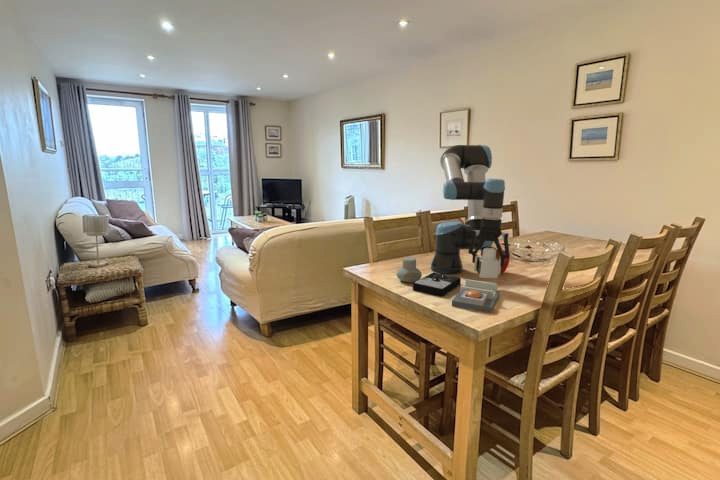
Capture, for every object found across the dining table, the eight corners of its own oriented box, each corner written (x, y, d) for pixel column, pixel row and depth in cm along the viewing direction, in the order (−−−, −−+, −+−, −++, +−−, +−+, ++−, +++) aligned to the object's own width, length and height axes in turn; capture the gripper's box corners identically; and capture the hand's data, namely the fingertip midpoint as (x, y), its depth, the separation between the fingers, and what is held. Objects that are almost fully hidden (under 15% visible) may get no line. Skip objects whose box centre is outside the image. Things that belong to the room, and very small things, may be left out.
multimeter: (460, 285, 161) (461, 274, 160) (442, 298, 146) (442, 286, 145) (432, 279, 169) (433, 269, 168) (412, 291, 154) (412, 279, 153)
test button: (465, 298, 136) (465, 293, 136) (468, 294, 140) (468, 289, 140) (479, 301, 134) (480, 295, 133) (482, 296, 138) (482, 291, 138)
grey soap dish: (451, 305, 137) (452, 292, 136) (463, 290, 154) (464, 278, 153) (491, 312, 131) (492, 299, 130) (499, 296, 148) (500, 284, 147)
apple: (486, 273, 177) (488, 249, 174) (488, 269, 185) (490, 245, 182) (507, 276, 173) (510, 251, 171) (509, 271, 181) (511, 247, 179)
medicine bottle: (476, 272, 159) (478, 244, 157) (494, 273, 158) (496, 245, 156) (479, 277, 152) (481, 249, 150) (497, 278, 151) (500, 249, 149)
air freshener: (399, 284, 161) (399, 261, 159) (394, 278, 169) (394, 257, 167) (423, 283, 163) (424, 260, 161) (417, 277, 171) (418, 256, 169)
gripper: (462, 217, 151) (459, 270, 157) (519, 222, 142) (513, 278, 147) (466, 214, 158) (463, 266, 163) (521, 218, 148) (515, 273, 154)
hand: (487, 272), depth 155 cm, fingers closed on medicine bottle, 8 cm apart
